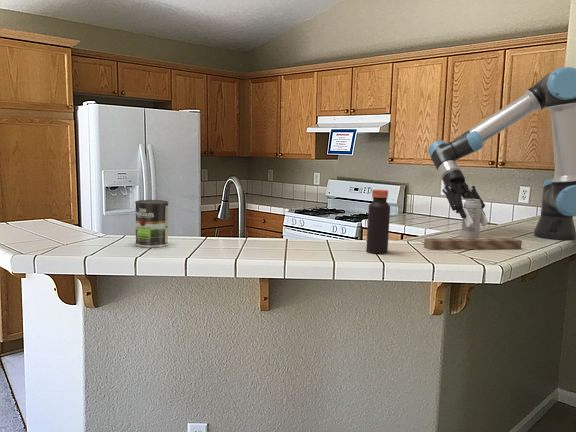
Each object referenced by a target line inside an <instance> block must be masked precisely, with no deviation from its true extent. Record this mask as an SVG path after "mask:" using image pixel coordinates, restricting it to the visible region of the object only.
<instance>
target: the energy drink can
mask: <svg viewBox="0 0 576 432" xmlns="http://www.w3.org/2000/svg"><path fill="white" fill-rule="evenodd" d="M481 207H482V204H481V202H480V200H479V199H465V202H463V209H464V208H466V209H467V211H468V213H469V215H470V217H471V219H472V221H473V224H472V225H471V226H470V227H467V225H466V223H465V221H464V219H462V222H461V236H460V238H480V229H481V223H480V218H481Z"/></svg>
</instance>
